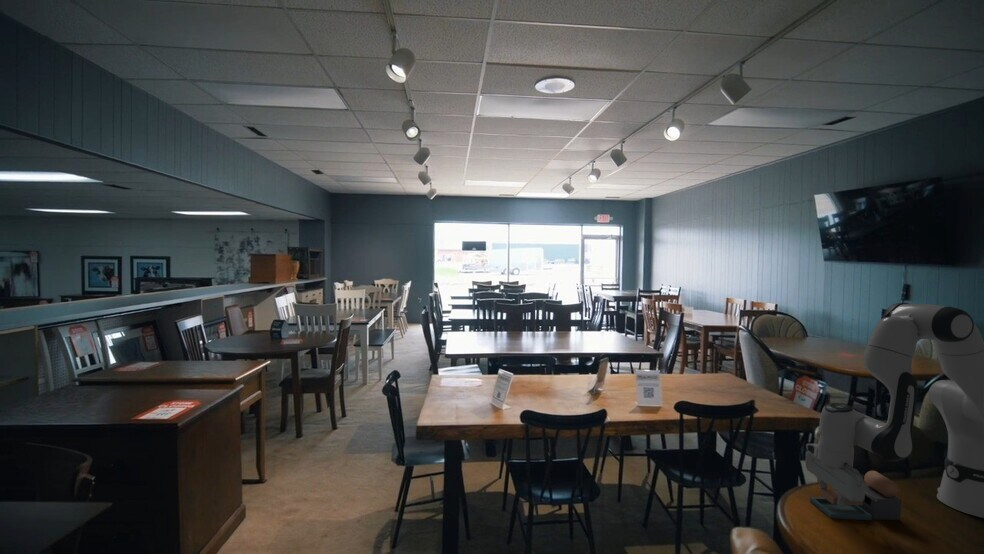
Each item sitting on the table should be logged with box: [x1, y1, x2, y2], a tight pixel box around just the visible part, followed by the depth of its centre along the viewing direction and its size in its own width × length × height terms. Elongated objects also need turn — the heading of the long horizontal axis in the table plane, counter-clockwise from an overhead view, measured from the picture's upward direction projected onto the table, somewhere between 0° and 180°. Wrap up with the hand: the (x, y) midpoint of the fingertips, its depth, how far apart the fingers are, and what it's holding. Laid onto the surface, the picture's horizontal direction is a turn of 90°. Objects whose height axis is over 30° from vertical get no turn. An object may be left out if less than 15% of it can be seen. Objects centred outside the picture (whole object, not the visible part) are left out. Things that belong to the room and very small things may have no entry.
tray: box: [809, 496, 872, 521], centre depth 138 cm, size 12×9×2 cm
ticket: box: [820, 488, 863, 505], centre depth 138 cm, size 9×5×2 cm, turn 89°
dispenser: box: [858, 470, 902, 521], centre depth 138 cm, size 8×9×11 cm
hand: (831, 499), depth 138 cm, fingers closed on ticket, 5 cm apart
